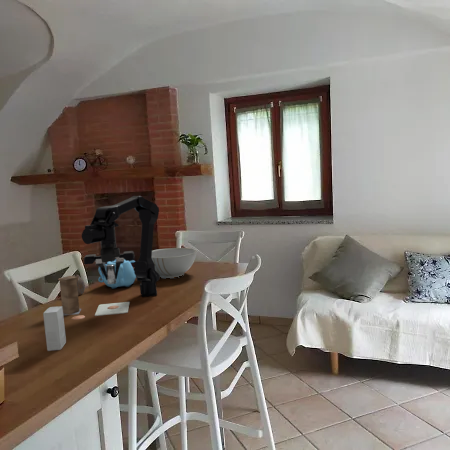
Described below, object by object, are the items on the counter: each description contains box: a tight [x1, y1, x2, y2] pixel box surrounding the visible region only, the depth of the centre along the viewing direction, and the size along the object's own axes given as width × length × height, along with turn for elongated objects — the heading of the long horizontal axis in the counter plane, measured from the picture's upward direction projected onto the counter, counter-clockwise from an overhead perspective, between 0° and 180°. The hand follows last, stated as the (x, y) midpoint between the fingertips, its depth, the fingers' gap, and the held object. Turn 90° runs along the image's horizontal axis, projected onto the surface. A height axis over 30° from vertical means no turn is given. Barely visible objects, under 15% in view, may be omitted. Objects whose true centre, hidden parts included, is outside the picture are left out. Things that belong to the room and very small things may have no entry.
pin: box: [106, 265, 116, 284], centre depth 173 cm, size 3×3×7 cm
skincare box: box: [42, 305, 67, 352], centre depth 137 cm, size 6×4×12 cm
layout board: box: [63, 301, 131, 321], centre depth 172 cm, size 26×16×1 cm, turn 99°
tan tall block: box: [58, 275, 81, 316], centre depth 172 cm, size 5×5×14 cm
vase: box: [72, 274, 86, 296], centre depth 199 cm, size 7×7×9 cm
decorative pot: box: [97, 259, 137, 290], centre depth 211 cm, size 16×16×14 cm
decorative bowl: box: [152, 247, 198, 279], centre depth 226 cm, size 27×27×12 cm
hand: (111, 279), depth 173 cm, fingers closed on pin, 3 cm apart
